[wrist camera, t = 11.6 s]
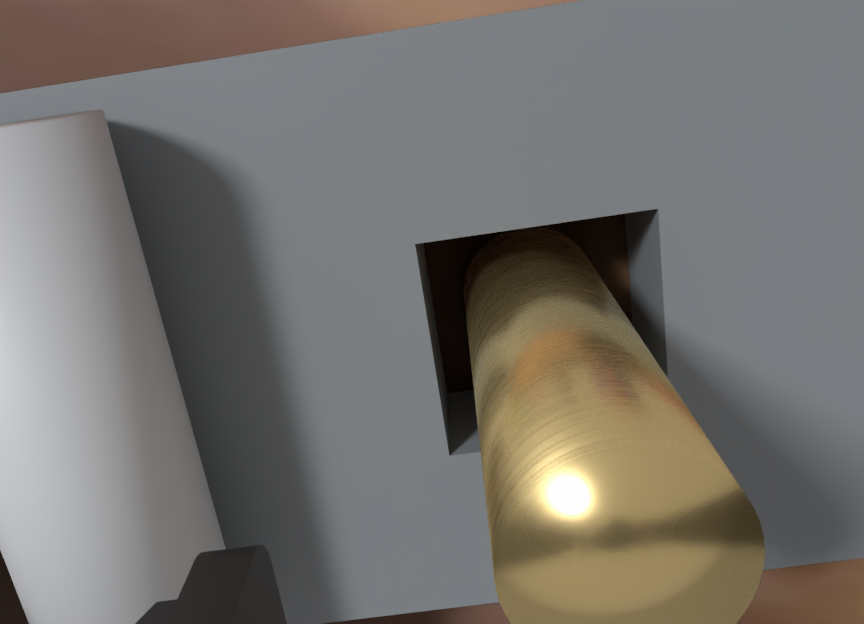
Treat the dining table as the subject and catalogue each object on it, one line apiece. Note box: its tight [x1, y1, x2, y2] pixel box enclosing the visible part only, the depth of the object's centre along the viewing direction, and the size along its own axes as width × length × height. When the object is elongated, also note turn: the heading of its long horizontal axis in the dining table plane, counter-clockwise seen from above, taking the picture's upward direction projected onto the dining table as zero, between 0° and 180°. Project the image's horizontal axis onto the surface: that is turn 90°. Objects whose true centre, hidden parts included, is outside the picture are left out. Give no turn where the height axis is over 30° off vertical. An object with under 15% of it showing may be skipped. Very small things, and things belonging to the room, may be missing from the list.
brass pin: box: [464, 227, 765, 624], centre depth 14 cm, size 3×3×10 cm
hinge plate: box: [0, 0, 864, 624], centre depth 15 cm, size 22×12×7 cm, turn 99°
